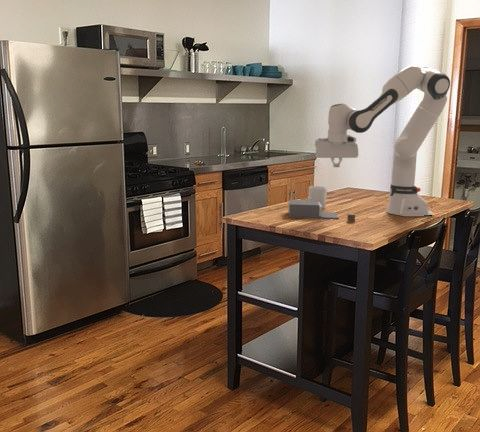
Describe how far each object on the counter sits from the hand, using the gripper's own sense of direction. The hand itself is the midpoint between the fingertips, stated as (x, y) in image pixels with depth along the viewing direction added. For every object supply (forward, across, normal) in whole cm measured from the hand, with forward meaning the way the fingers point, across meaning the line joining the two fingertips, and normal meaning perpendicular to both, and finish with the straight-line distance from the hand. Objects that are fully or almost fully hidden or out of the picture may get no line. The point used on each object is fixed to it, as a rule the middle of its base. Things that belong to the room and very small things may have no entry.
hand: (336, 167), depth 259 cm
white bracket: (+22, -14, -2) cm, 26 cm away
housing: (+23, -11, -2) cm, 26 cm away
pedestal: (+24, +6, -13) cm, 28 cm away
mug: (+24, -6, +18) cm, 30 cm away
